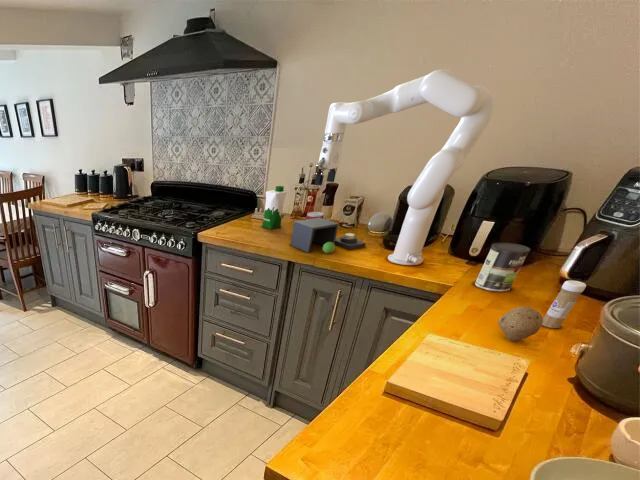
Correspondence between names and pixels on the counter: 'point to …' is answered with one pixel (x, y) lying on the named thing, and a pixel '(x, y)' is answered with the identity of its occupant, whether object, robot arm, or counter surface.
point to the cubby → (313, 233)
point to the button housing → (349, 243)
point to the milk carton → (274, 207)
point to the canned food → (315, 215)
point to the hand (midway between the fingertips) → (324, 183)
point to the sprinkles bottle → (563, 303)
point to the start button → (349, 236)
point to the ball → (328, 247)
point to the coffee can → (501, 266)
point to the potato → (520, 323)
